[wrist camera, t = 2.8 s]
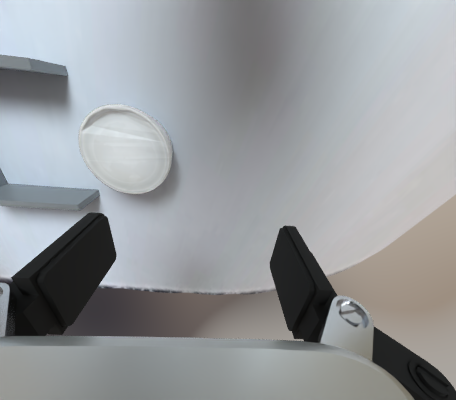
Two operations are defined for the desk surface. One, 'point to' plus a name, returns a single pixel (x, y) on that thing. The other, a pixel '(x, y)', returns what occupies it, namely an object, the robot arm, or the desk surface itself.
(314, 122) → the desk surface
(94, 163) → the ramekin
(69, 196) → the box
